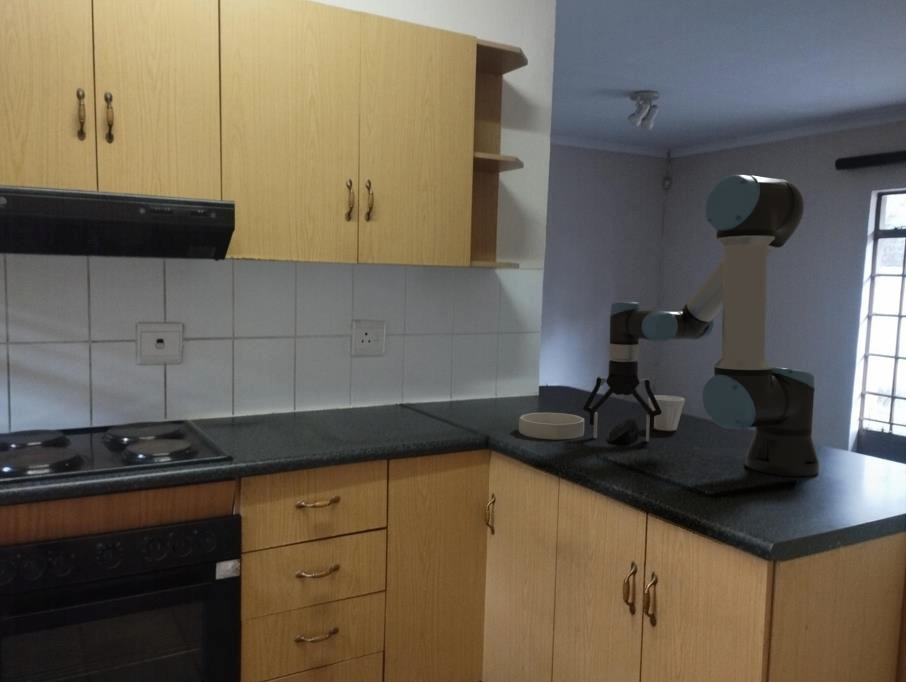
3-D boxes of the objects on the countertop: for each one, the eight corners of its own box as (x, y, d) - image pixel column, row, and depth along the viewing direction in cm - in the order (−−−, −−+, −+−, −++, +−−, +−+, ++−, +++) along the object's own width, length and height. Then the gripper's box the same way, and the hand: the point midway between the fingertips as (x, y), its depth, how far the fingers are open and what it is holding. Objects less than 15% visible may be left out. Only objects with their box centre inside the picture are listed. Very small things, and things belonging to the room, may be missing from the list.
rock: (604, 443, 186) (605, 422, 186) (612, 436, 195) (613, 415, 195) (631, 446, 183) (632, 424, 183) (638, 439, 193) (639, 418, 192)
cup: (682, 427, 208) (683, 396, 208) (684, 434, 199) (685, 401, 198) (647, 425, 211) (648, 394, 210) (647, 431, 201) (648, 399, 201)
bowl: (581, 441, 188) (581, 426, 188) (515, 436, 193) (515, 422, 192) (585, 428, 205) (586, 414, 205) (525, 424, 210) (525, 411, 209)
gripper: (671, 360, 189) (669, 438, 191) (577, 356, 195) (575, 433, 197) (673, 363, 182) (670, 444, 184) (574, 359, 188) (572, 438, 190)
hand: (621, 438), depth 190 cm, fingers open, 13 cm apart
